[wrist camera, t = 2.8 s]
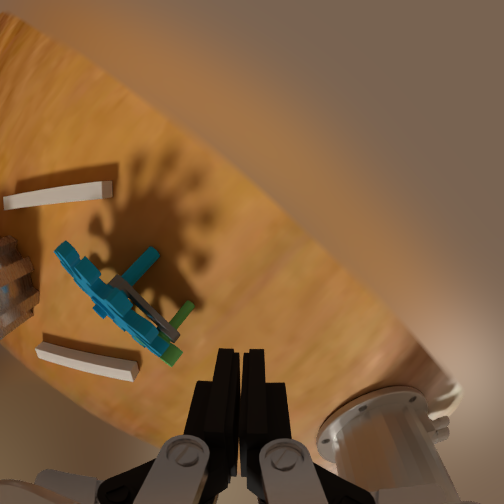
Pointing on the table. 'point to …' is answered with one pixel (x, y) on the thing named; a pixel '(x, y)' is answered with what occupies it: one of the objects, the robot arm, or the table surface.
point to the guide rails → (57, 353)
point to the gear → (127, 301)
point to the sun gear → (15, 287)
